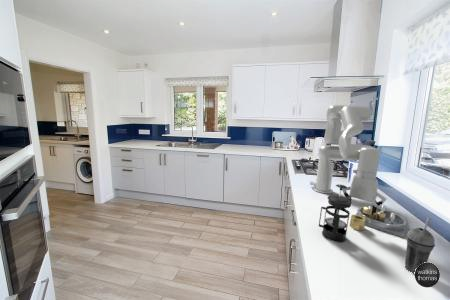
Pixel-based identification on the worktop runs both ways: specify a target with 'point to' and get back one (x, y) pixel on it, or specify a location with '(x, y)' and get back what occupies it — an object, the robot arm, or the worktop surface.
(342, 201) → the french press
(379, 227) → the carrier
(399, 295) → the worktop surface
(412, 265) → the beverage cup
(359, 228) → the gear
